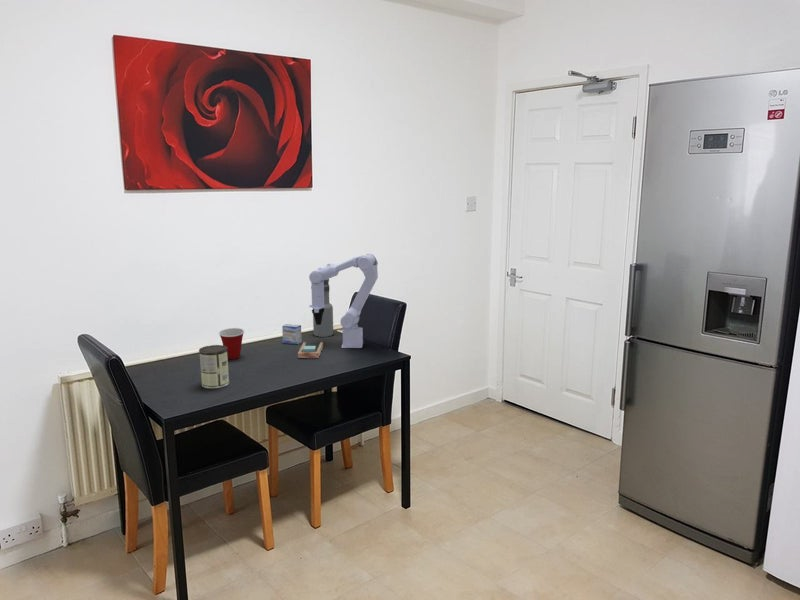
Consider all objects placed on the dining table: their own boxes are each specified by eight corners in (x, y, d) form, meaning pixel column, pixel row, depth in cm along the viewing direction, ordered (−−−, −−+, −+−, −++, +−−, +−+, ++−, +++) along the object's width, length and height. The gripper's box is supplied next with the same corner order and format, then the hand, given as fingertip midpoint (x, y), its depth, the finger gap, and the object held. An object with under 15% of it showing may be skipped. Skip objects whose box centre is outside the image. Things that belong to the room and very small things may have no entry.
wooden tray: (323, 347, 289) (323, 342, 288) (318, 358, 271) (318, 353, 271) (303, 347, 289) (303, 342, 288) (297, 358, 271) (297, 353, 270)
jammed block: (316, 353, 278) (315, 345, 277) (314, 356, 273) (314, 348, 272) (304, 353, 278) (304, 345, 277) (303, 356, 273) (303, 349, 272)
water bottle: (312, 337, 306) (310, 281, 301) (313, 332, 316) (311, 277, 310) (333, 337, 307) (331, 280, 301) (333, 332, 316) (332, 277, 311)
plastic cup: (217, 361, 267) (215, 334, 265) (223, 354, 278) (221, 328, 275) (242, 361, 267) (241, 334, 265) (248, 354, 278) (246, 327, 276)
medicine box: (282, 343, 295) (281, 325, 294) (286, 341, 300) (286, 323, 298) (297, 344, 293) (297, 326, 291) (301, 342, 297) (301, 324, 296)
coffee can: (205, 379, 243) (203, 344, 240) (232, 379, 243) (230, 344, 241) (197, 388, 233) (195, 352, 230) (225, 388, 233) (223, 352, 231)
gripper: (311, 293, 297) (312, 320, 300) (307, 299, 283) (308, 328, 286) (326, 293, 297) (326, 320, 300) (322, 298, 283) (323, 328, 286)
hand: (318, 324), depth 293 cm, fingers closed
